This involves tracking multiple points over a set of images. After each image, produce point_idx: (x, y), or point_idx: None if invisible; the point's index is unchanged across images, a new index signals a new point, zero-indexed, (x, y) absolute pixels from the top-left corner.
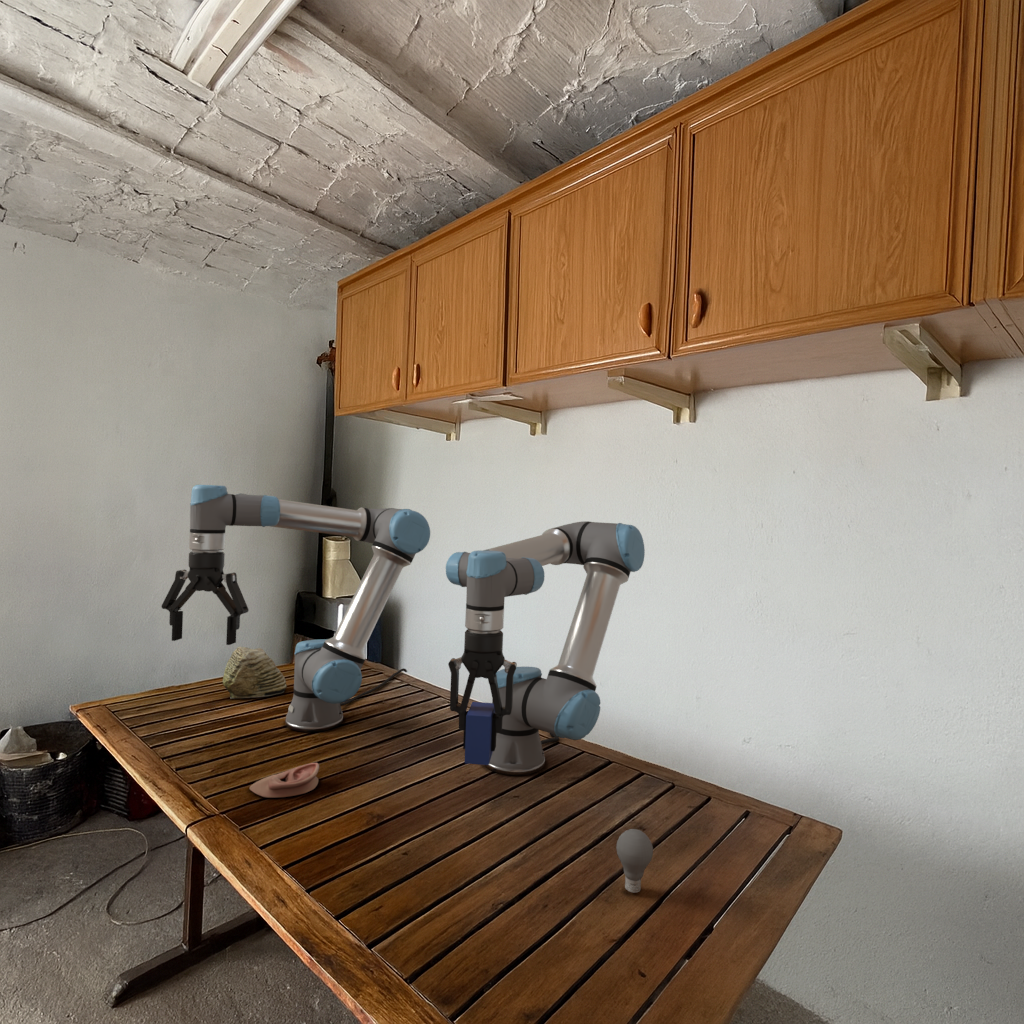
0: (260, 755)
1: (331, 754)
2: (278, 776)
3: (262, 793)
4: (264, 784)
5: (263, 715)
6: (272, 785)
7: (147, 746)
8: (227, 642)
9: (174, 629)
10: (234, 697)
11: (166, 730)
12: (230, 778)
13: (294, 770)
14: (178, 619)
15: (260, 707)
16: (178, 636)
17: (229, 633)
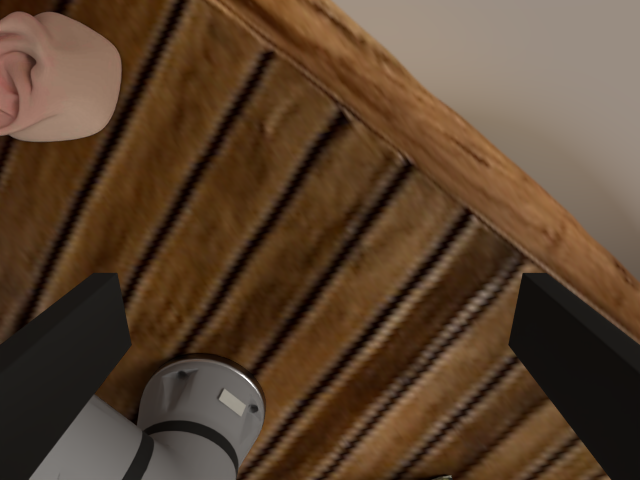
0: (212, 226)
1: (71, 264)
2: (40, 65)
3: (61, 18)
4: (68, 43)
5: (332, 414)
6: (19, 12)
7: (481, 216)
8: (99, 281)
9: (580, 318)
10: (441, 478)
11: (490, 302)
12: (198, 98)
13: (20, 99)
14: (624, 418)
15: (363, 449)
16: (526, 322)
17: (38, 318)
